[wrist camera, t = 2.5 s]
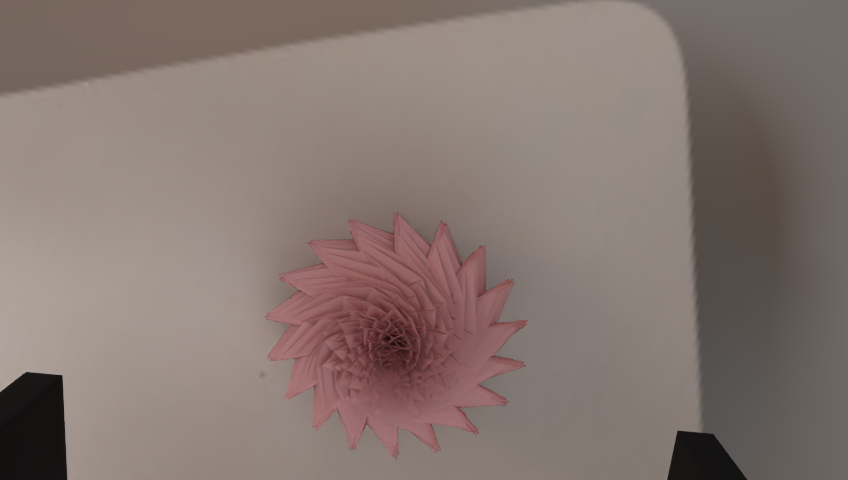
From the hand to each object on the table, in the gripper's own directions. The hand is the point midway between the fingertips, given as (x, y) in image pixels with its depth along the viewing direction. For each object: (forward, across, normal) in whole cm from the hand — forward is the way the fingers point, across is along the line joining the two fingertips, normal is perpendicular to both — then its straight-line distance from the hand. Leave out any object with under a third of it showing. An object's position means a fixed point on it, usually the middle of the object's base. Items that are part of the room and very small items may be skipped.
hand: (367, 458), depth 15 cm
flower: (+10, 0, 0) cm, 10 cm away
